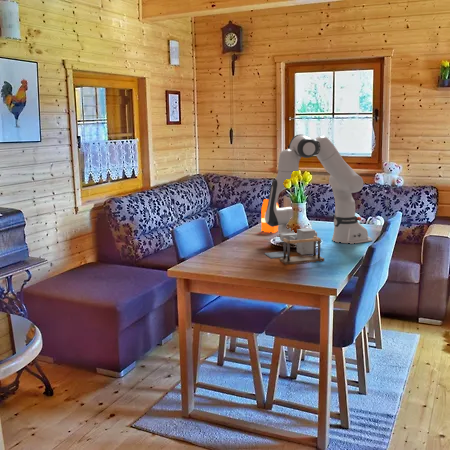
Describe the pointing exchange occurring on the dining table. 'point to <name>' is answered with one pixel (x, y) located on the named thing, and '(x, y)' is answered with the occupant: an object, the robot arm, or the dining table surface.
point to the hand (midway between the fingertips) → (303, 238)
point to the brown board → (302, 259)
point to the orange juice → (264, 225)
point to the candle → (287, 201)
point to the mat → (275, 254)
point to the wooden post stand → (301, 242)
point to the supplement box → (305, 246)
